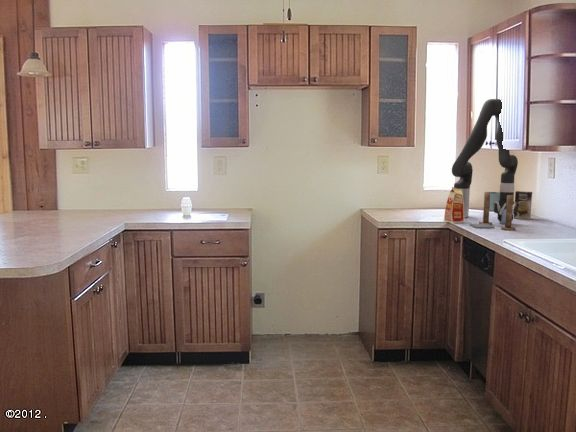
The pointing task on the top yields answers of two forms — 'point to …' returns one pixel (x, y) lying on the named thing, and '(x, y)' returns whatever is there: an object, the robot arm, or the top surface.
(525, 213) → the coffee box
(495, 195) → the drinking glass
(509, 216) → the post
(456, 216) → the milk carton
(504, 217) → the pale blue egg shape
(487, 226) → the mat
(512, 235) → the top surface
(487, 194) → the post
